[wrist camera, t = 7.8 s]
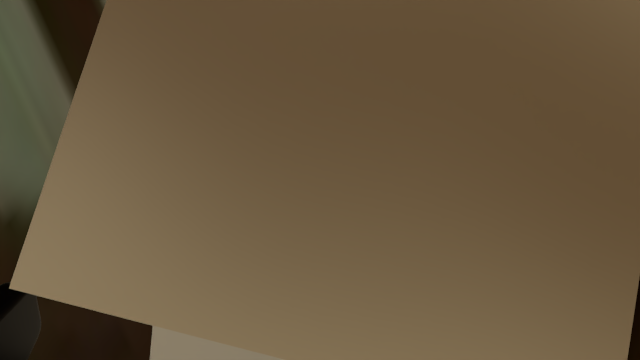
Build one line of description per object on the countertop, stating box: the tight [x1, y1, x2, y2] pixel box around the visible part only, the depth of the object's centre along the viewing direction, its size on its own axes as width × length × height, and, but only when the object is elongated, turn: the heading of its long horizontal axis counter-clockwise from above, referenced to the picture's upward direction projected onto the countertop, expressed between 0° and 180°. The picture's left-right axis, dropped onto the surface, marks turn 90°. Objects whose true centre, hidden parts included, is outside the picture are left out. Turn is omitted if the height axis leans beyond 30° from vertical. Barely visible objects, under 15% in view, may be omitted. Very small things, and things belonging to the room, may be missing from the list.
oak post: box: [9, 0, 640, 360], centre depth 11 cm, size 4×4×13 cm
